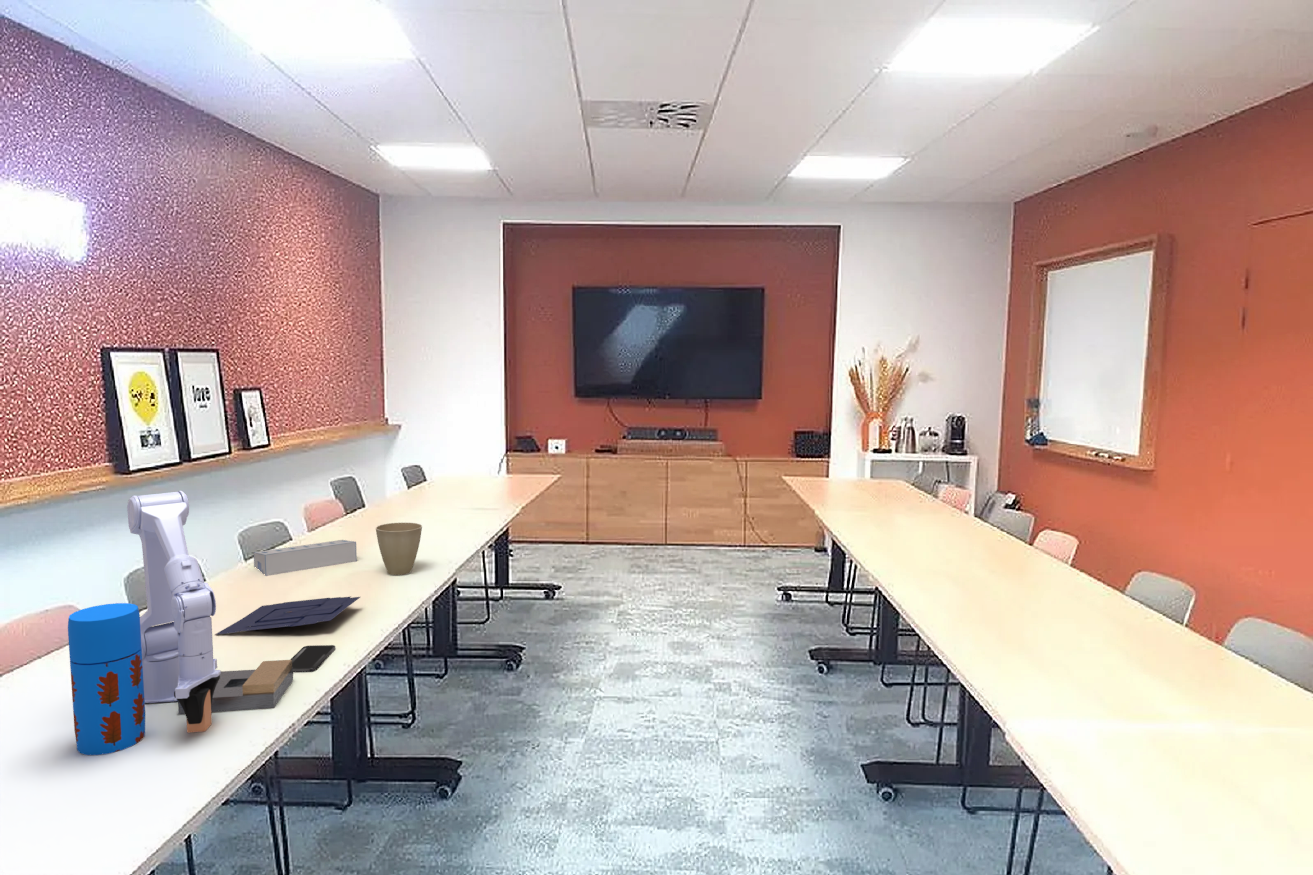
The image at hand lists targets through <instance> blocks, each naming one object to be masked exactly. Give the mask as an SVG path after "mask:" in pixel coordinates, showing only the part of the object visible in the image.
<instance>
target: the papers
mask: <svg viewBox="0 0 1313 875" xmlns="http://www.w3.org/2000/svg"><path fill="white" fill-rule="evenodd" d="M359 599H361V596H354V597H352V595H351V596H343V597H341V596H338V597H324V598H323V597H322V598H314V599H303V600H296V601H295V600H294V601H286V602H285V601H284V602H280V603H273V604H265V605H261V606H260V607H258V608H256V609H255V610H253V611H252V612H250V613H249V614H247V615H245V616H244V617H242V618H240V619H239V620H237V621H236V622H234V623H232V624H230V625H229V626H227V627H225V628H223V629H222V630H220V631H218V632H217V633H215V634H214V636H215V635H224V634H225V635H226V634H233V633H240V632H249V631H256V630H266V629H275V628H276V629H277V628H285V627H287V628H289V627H298V626H305V625H313V624H317V623H320V622H321V623H322V622H330V621H332V620H333V619H334V618H336V617H337V616H338V615H339V614H340V613H342V612H343V611H345V610H346V609H347V608H348V607H350V606H351V605H352V604H354V603H355V602H356V601H358V600H359Z"/></svg>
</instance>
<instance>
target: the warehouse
mask: <svg viewBox="0 0 1313 875" xmlns="http://www.w3.org/2000/svg"><path fill="white" fill-rule="evenodd" d="M357 554H358V553H357V541H354V540H346V539H345V540H344V539H338V540H331V541H325V542H316V543H310V544H302V545H295V546H289V547H282V548H281V547H280V548H275V549H268V550H260V551H254V552H253V567H254V568H255V567H256V568H257V569H259V570H260V571H259V570H258V571H259V572H260V573H261V572H262V573H261V574H263V575H264V574H265V575H264V576H265V577H268V576H274V575H280V574H286V573H293V572H299V571H304V570H305V571H307V570H312V569H318V568H324V567H330V566H331V567H332V566H336V565H343V564H349V563H353V562H354V563H356V562H357V561H358V559H357V558H358V557H357ZM256 568H255V569H256ZM257 569H256V570H257Z"/></svg>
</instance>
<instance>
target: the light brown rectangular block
mask: <svg viewBox="0 0 1313 875" xmlns="http://www.w3.org/2000/svg"><path fill="white" fill-rule="evenodd" d="M212 720H213V719H212V712H211V697H210V690H208V693H207V695H206V698H205V702H204V710H203V718H202V722H201V723H200V724H189V723H188V721H187V720H186V730H187V731H186V733H188V734H189V733H202V732H206V731H207V730H208V729H209V728H210V726H211V725H212V722H213V721H212Z"/></svg>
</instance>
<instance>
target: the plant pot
mask: <svg viewBox="0 0 1313 875" xmlns="http://www.w3.org/2000/svg"><path fill="white" fill-rule="evenodd" d="M422 528H423V525H422V524H420V523H416V522H391V523H384V524H380V525H377V526H376V527H375V532H376V534H375V535H376V538H377V544H378V547H379V552H380V554H381V559H382V561H383V564H384V566H385V570H386V572H387V574H388V575H390V576H405V575H410V574H411V572H412V569H413V567H414V565H415V561H416V558H417V554H418V552H419V547H420V542H421V538H422V537H421V536H422Z"/></svg>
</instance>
